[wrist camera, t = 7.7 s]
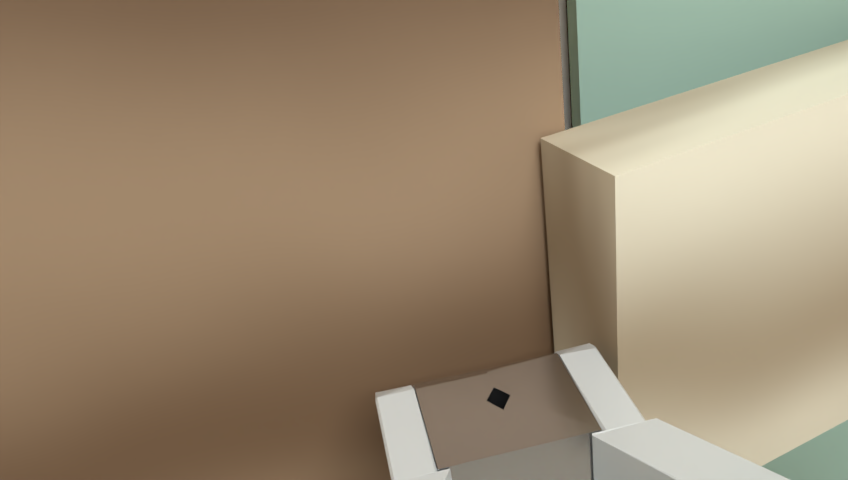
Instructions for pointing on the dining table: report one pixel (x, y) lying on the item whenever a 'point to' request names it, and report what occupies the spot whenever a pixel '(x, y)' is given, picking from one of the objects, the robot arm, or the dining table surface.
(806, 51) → the sage mat
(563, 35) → the dining table surface
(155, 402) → the walnut deck
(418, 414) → the robot arm
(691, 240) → the birch tile
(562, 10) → the dining table surface
